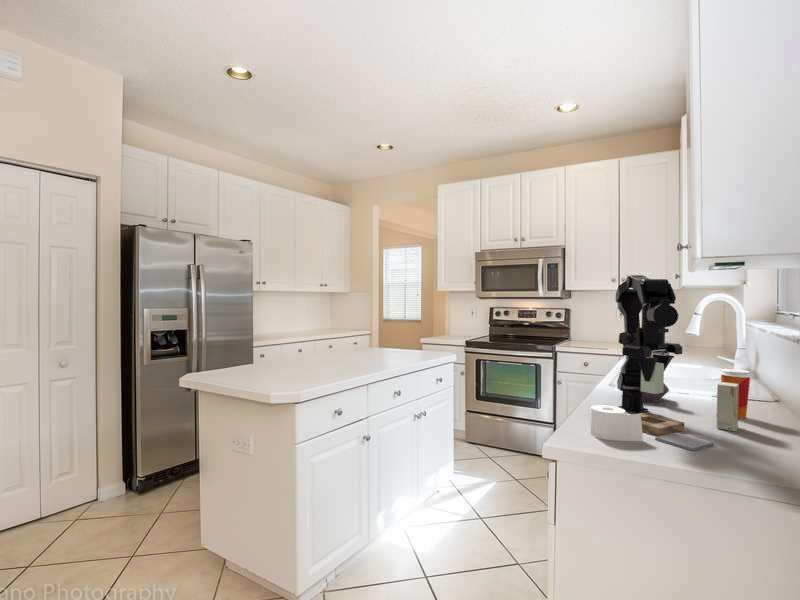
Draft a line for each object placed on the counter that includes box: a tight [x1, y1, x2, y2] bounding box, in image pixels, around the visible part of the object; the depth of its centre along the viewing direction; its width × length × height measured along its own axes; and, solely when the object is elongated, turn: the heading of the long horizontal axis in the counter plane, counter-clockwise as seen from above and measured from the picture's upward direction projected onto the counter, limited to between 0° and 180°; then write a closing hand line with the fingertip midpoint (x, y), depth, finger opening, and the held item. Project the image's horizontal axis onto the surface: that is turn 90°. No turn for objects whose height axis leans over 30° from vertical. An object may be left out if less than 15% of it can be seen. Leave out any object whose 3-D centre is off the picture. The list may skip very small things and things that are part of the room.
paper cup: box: [719, 368, 752, 420], centre depth 136 cm, size 8×8×14 cm
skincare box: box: [716, 382, 739, 432], centre depth 125 cm, size 6×4×12 cm
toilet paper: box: [589, 404, 644, 442], centre depth 117 cm, size 8×11×7 cm
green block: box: [641, 362, 665, 394], centre depth 124 cm, size 4×4×8 cm
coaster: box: [654, 432, 714, 452], centre depth 112 cm, size 9×9×1 cm
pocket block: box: [633, 412, 685, 437], centre depth 124 cm, size 12×12×2 cm
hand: (652, 380), depth 124 cm, fingers closed on green block, 4 cm apart
